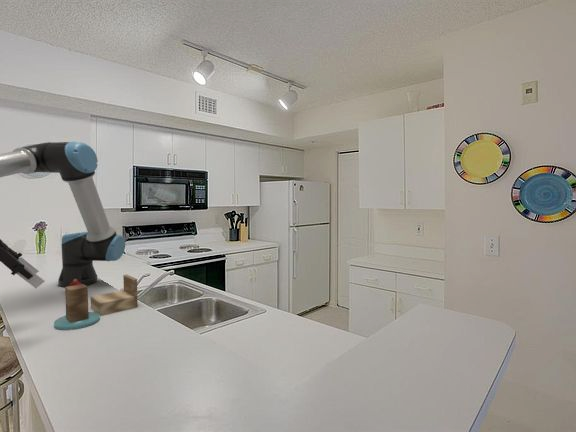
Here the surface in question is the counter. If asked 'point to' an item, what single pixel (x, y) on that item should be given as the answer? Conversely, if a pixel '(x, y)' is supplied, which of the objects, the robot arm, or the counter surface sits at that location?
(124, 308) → the ledge
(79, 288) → the block
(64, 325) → the teal flattened ellipsoid
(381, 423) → the counter surface
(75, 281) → the onion
